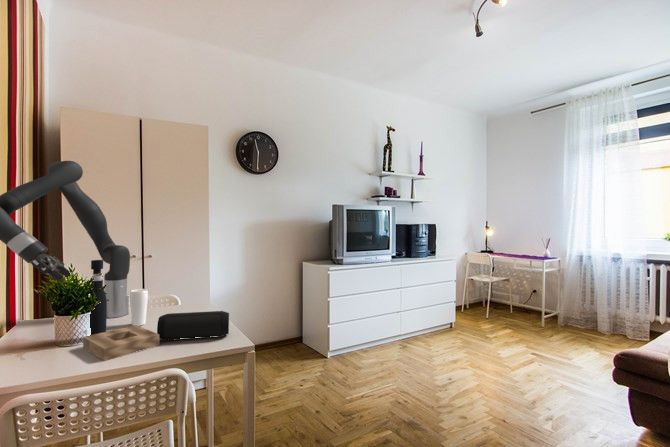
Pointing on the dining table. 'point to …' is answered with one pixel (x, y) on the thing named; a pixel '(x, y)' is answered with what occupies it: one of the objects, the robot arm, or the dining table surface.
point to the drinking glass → (138, 306)
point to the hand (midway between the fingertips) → (65, 277)
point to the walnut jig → (120, 342)
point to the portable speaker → (193, 325)
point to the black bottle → (100, 309)
